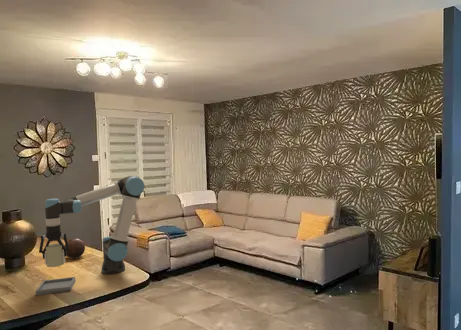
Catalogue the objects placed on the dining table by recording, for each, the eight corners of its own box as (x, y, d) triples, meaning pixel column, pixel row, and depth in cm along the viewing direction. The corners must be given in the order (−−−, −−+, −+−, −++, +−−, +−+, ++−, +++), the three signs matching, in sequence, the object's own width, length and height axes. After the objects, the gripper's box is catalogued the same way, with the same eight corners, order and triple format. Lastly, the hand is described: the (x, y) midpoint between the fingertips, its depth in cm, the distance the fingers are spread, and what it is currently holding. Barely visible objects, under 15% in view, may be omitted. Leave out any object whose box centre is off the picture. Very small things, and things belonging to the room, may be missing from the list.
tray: (75, 280, 223) (75, 276, 223) (70, 291, 205) (70, 286, 205) (43, 284, 218) (43, 280, 218) (36, 295, 200) (35, 291, 200)
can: (46, 268, 205) (45, 247, 205) (46, 264, 213) (45, 244, 213) (64, 265, 209) (63, 244, 209) (63, 261, 217) (62, 241, 217)
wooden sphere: (89, 256, 276) (88, 237, 275) (71, 262, 263) (70, 242, 263) (77, 254, 284) (76, 235, 283) (59, 259, 271) (58, 240, 271)
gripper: (74, 222, 217) (76, 259, 218) (34, 225, 211) (36, 263, 212) (72, 224, 210) (74, 262, 210) (31, 228, 204) (33, 267, 205)
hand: (55, 263), depth 211 cm, fingers closed on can, 9 cm apart
